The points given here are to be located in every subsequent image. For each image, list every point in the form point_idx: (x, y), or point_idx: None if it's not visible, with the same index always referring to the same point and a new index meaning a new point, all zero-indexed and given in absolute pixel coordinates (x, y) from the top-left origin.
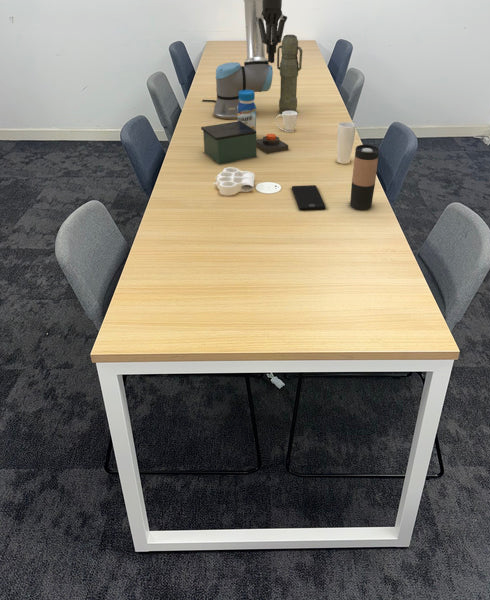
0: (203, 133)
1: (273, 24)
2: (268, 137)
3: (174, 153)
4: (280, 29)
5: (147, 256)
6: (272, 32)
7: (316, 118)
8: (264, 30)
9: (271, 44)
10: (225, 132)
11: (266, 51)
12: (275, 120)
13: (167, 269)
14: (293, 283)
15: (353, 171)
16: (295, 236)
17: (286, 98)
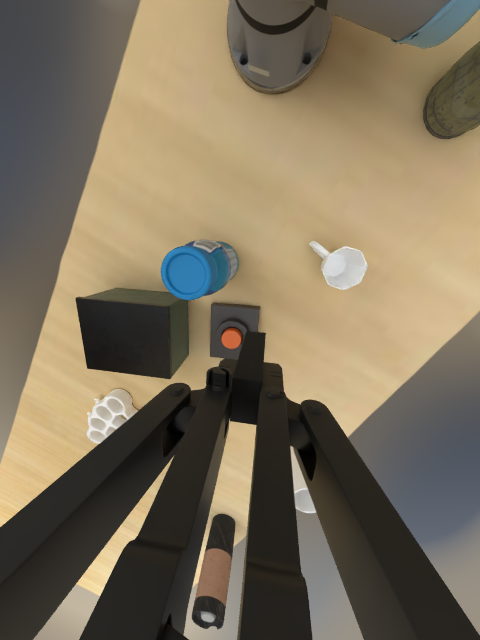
0: (90, 295)
1: (237, 637)
2: (222, 342)
3: (67, 262)
4: (341, 569)
5: (8, 478)
6: (252, 479)
7: (470, 213)
8: (102, 534)
9: (254, 392)
10: (112, 353)
11: (219, 365)
12: (309, 244)
13: (21, 499)
14: (102, 554)
15: (201, 569)
16: (132, 521)
17: (468, 98)
